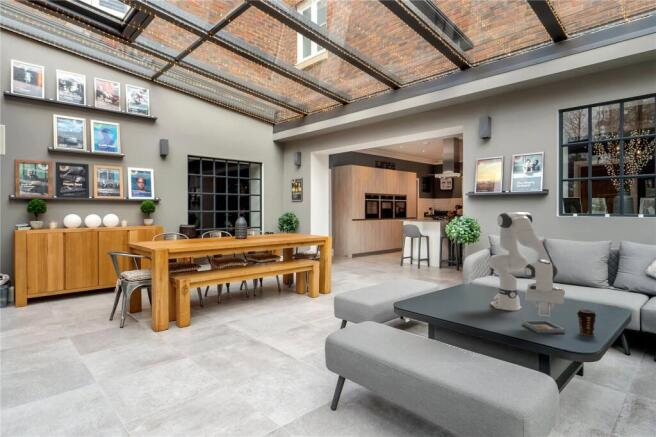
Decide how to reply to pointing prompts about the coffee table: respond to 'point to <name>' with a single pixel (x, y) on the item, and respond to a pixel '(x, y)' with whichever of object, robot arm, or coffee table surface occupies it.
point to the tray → (537, 328)
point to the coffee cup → (586, 321)
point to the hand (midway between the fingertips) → (544, 309)
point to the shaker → (544, 309)
